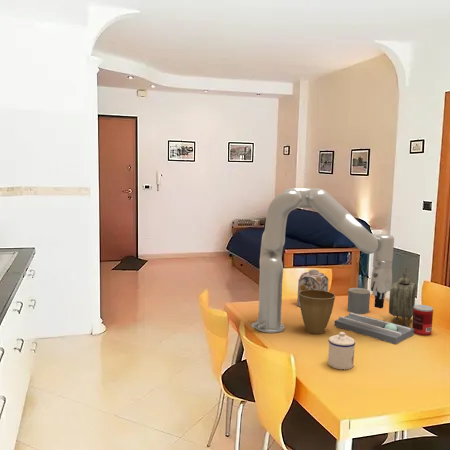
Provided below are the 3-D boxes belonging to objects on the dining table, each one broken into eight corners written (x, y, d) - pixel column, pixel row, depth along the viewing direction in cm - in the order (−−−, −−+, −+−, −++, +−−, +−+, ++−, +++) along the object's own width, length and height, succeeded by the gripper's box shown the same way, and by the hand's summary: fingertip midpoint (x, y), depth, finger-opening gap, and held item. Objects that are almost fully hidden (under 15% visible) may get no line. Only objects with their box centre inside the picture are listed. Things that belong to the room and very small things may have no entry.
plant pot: (333, 338, 191) (335, 299, 189) (296, 335, 194) (297, 297, 192) (333, 326, 206) (334, 290, 204) (298, 323, 209) (299, 288, 207)
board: (334, 326, 206) (334, 318, 206) (353, 318, 217) (354, 310, 217) (395, 344, 186) (396, 335, 186) (413, 334, 197) (414, 326, 197)
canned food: (431, 331, 202) (433, 306, 201) (431, 337, 195) (433, 311, 193) (412, 328, 205) (414, 303, 204) (411, 334, 198) (412, 308, 196)
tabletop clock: (409, 328, 204) (413, 271, 201) (387, 325, 208) (390, 269, 205) (413, 319, 217) (417, 265, 214) (392, 316, 221) (396, 263, 218)
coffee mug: (371, 314, 224) (372, 293, 222) (350, 313, 224) (351, 293, 222) (363, 305, 237) (364, 286, 236) (343, 305, 237) (344, 285, 236)
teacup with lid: (358, 370, 162) (359, 337, 161) (332, 370, 161) (333, 337, 160) (345, 355, 174) (347, 325, 173) (321, 356, 173) (322, 325, 172)
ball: (395, 338, 193) (388, 329, 192) (386, 337, 198) (379, 328, 197) (401, 329, 195) (394, 320, 194) (392, 328, 200) (386, 320, 199)
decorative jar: (318, 310, 228) (320, 273, 226) (296, 306, 234) (297, 270, 232) (328, 304, 238) (329, 269, 236) (306, 300, 244) (307, 266, 242)
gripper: (381, 268, 188) (378, 313, 191) (399, 263, 199) (395, 306, 201) (364, 264, 194) (361, 308, 196) (382, 260, 204) (379, 302, 206)
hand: (378, 307), depth 199 cm, fingers closed
